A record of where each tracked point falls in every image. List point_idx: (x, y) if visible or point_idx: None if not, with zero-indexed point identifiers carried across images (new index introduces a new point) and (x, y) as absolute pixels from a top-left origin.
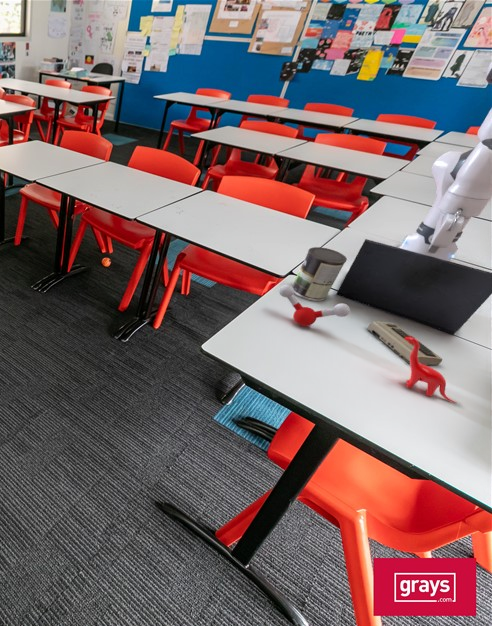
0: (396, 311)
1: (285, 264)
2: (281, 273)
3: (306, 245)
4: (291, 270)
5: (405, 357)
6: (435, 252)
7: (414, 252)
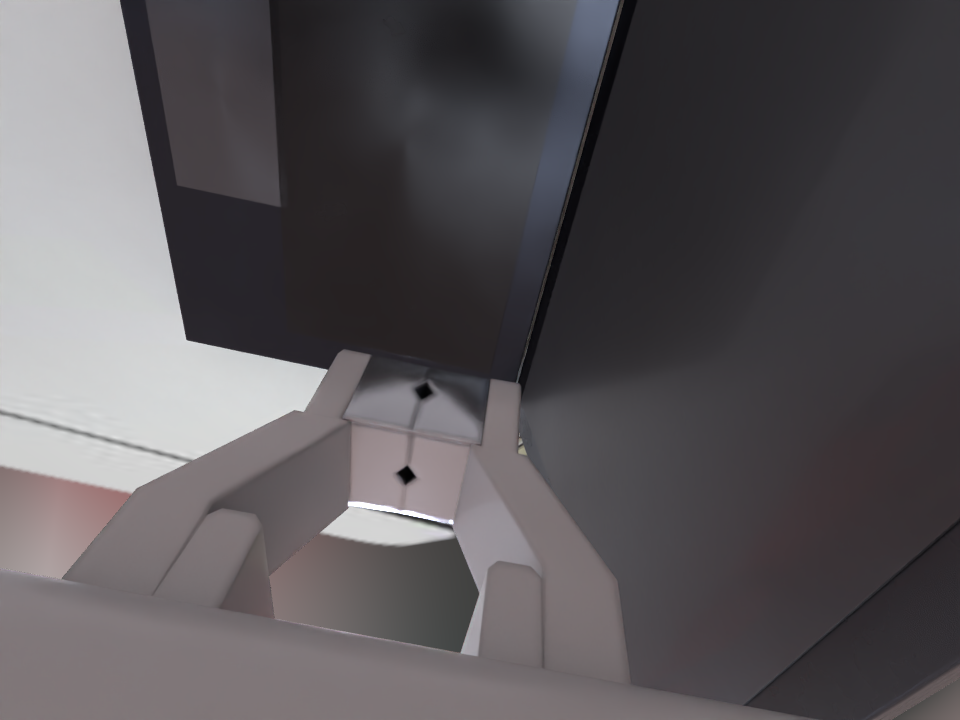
0: (579, 148)
1: (344, 525)
2: (443, 537)
3: (61, 461)
4: (386, 512)
5: None
6: (518, 393)
7: (905, 707)
